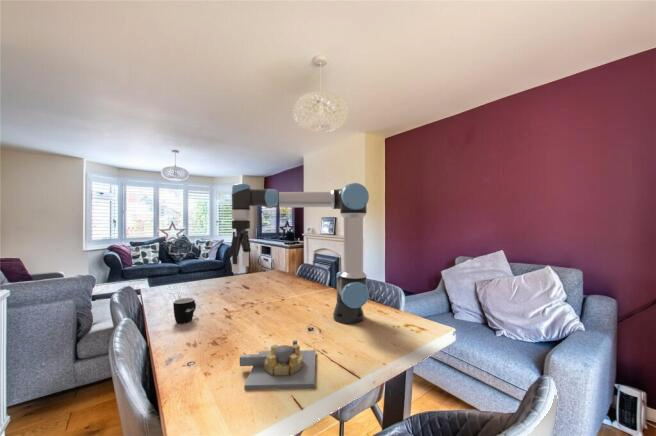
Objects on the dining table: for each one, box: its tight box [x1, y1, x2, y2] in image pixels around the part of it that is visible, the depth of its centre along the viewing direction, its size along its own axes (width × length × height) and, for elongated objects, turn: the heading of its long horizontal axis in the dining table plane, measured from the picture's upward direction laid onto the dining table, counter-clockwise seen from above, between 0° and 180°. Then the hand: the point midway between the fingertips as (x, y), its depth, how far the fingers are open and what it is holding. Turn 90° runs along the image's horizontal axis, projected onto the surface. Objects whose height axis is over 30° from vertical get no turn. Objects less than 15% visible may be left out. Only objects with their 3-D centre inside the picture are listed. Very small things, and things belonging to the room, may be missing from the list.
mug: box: [172, 297, 197, 325], centre depth 130 cm, size 12×9×10 cm
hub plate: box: [243, 340, 316, 390], centre depth 87 cm, size 20×20×6 cm
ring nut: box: [239, 344, 303, 376], centre depth 87 cm, size 20×12×4 cm, turn 92°
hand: (240, 269), depth 116 cm, fingers open, 13 cm apart
